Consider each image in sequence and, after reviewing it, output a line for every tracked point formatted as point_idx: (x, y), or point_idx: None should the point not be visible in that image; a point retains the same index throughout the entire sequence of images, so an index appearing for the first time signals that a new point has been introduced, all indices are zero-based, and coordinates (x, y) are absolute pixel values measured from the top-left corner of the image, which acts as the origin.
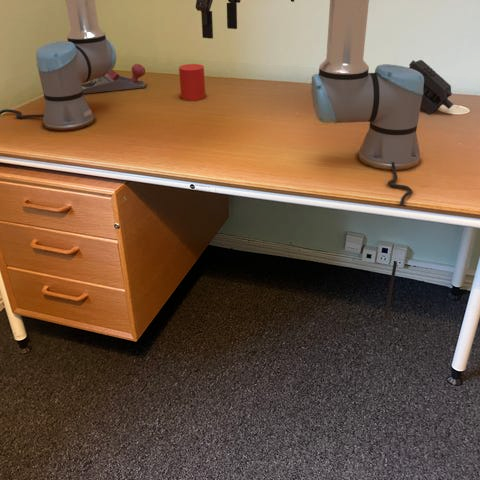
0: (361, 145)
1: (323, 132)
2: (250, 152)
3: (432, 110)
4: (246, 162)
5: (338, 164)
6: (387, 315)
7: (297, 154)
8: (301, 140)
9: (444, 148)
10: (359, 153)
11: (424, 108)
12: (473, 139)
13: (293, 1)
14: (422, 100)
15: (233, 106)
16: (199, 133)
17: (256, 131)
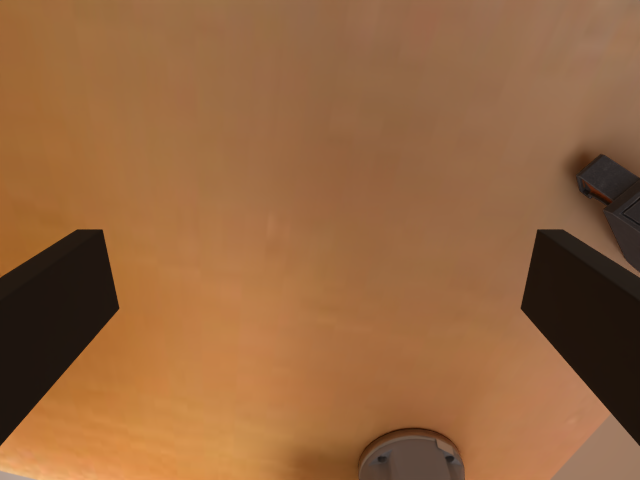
0: (365, 475)
1: (319, 351)
2: (162, 427)
3: (637, 269)
4: (159, 460)
5: (317, 476)
6: None
7: (251, 440)
8: (265, 386)
9: (530, 437)
10: (359, 469)
11: (625, 256)
12: None
13: (111, 310)
14: (635, 259)
15: (73, 141)
16: None
17: (165, 334)
